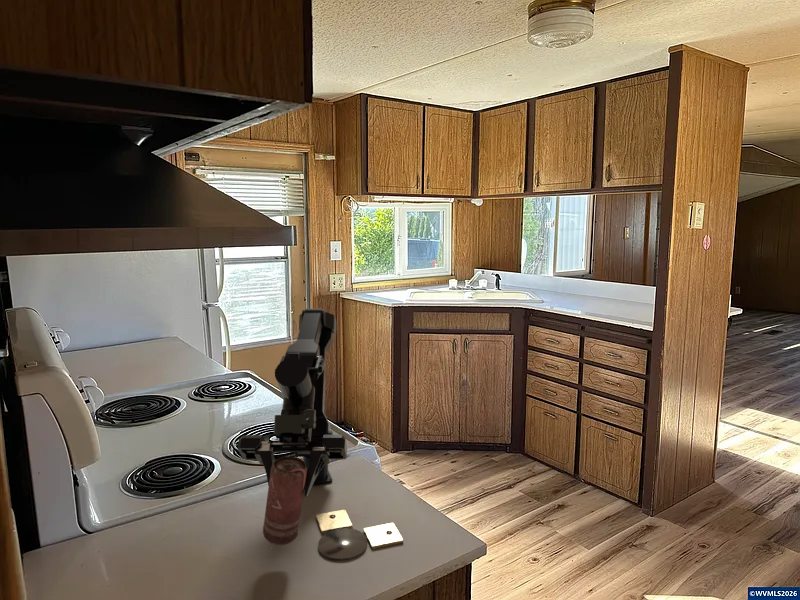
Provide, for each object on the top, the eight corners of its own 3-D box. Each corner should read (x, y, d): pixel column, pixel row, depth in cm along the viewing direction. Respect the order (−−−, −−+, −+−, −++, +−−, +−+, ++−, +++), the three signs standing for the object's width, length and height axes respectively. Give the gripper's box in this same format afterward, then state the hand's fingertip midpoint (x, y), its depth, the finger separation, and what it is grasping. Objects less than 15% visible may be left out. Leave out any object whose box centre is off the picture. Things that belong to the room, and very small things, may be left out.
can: (290, 550, 94) (300, 478, 90) (256, 539, 95) (265, 467, 91) (304, 529, 99) (314, 460, 96) (272, 519, 101) (281, 451, 97)
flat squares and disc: (308, 518, 111) (308, 515, 111) (381, 505, 116) (381, 502, 116) (323, 564, 97) (323, 561, 96) (405, 547, 101) (405, 543, 101)
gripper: (237, 392, 96) (221, 482, 87) (344, 391, 96) (339, 482, 87) (251, 417, 105) (238, 501, 96) (348, 416, 105) (344, 500, 96)
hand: (288, 496), depth 94 cm, fingers closed on can, 5 cm apart
